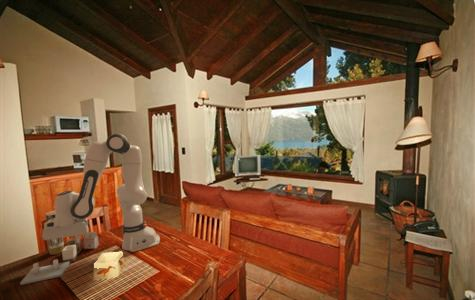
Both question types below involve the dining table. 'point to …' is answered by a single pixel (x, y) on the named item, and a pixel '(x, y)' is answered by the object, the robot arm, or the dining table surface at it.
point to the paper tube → (60, 247)
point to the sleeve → (69, 253)
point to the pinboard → (45, 272)
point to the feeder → (72, 242)
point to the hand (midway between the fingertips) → (67, 243)
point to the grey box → (90, 240)
